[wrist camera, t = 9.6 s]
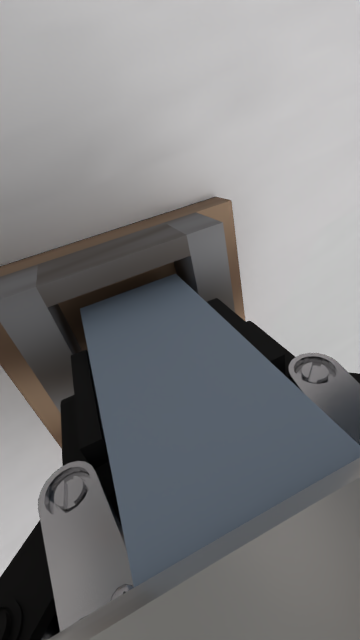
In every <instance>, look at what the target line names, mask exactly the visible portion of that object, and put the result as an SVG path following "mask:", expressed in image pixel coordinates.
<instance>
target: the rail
mask: <svg viewBox="0 0 360 640" xmlns="http://www.w3.org/2000/svg"><path fill="white" fill-rule="evenodd" d="M173 274H177V275H178V276H179V277H180V278H181V279H182V280H183V281H184V282H185V283H186V284H188V285H189V286H190V287H191V288H192V289H193V290H194V291H195V292H196V293H197V294H198V295H199V296H200V297H201V298H203V299H204V300H205V301H206V302H207V301H210V300H212V299H215V298H218V299H219V300H221V301H222V302H223V303H224V304H225V305H226V306H228V307H229V308H230V309H231V310H232V311H234V312H235V313H236V314H237V315H238V316H240V317H241V318H242V319H243V320H244V321H245V315H244V306H243V297H242V289H241V280H240V271H239V263H238V254H237V245H236V237H235V228H234V219H233V211H232V202H231V200H227V199H223V198H219V197H214V198H211V199H208V200H205V201H202V202H198V203H195V204H192V205H189V206H186V207H183V208H180V209H177V210H174V211H171V212H168V213H164V214H161V215H158V216H155V217H152V218H149V219H146V220H143V221H140V222H137V223H134V224H130V225H127V226H124V227H121V228H118V229H115V230H112V231H109V232H106V233H103V234H100V235H97V236H93V237H90V238H87V239H84V240H81V241H78V242H75V243H72V244H69V245H66V246H63V247H59V248H56V249H53V250H50V251H47V252H44V253H41V254H38V255H35V256H32V257H29V258H25V259H22V260H19V261H16V262H13V263H10V264H7V265H4V266H1V267H0V365H1V366H2V368H3V369H4V370H5V372H6V373H7V375H8V376H9V377H10V379H11V380H12V381H13V383H14V384H15V385H16V387H17V388H18V390H19V391H20V392H21V394H22V395H23V396H24V398H25V399H26V401H27V402H28V403H29V405H30V406H31V407H32V409H33V410H34V411H35V413H36V414H37V416H38V417H39V418H40V420H41V421H42V422H43V424H44V425H45V426H46V428H47V429H48V431H49V432H50V433H51V435H52V436H53V437H54V439H55V440H56V442H57V443H58V444H59V446H60V447H61V448H62V434H61V408H60V404H61V400H63V399H65V398H68V397H70V396H72V395H74V387H73V377H72V367H71V355H73V354H76V353H78V352H81V351H83V350H87V351H88V348H87V343H86V338H85V333H84V328H83V322H82V317H81V312H80V308H83V307H86V306H88V305H91V304H94V303H96V302H99V301H102V300H105V299H107V298H110V297H113V296H116V295H118V294H121V293H124V292H126V291H129V290H132V289H135V288H137V287H140V286H143V285H146V284H148V283H151V282H154V281H156V280H159V279H162V278H165V277H167V276H170V275H173Z"/></svg>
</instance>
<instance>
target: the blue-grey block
mask: <svg viewBox="0 0 360 640" xmlns="http://www.w3.org/2000/svg"><path fill="white" fill-rule="evenodd" d="M80 312H81V317H82V322H83V328H84V333H85V338H86V343H87V348H88V353H89V359H90V364H91V369H92V374H93V379H94V384H95V390H96V395H97V400H98V405H99V410H100V415H101V421H102V426H103V431H104V436H105V441H106V446H107V452H108V457H109V462H110V467H111V472H112V477H113V483H114V488H115V493H116V498H117V503H118V508H119V514H120V519H121V524H122V529H123V534H124V539H125V545H126V550H127V555H128V560H129V565H130V570H131V576H132V581H133V586H134V587H136V586H138V585H140V584H141V583H143V582H145V581H146V580H148V579H150V578H152V577H153V576H155V575H157V574H158V573H160V572H162V571H164V570H165V569H167V568H169V567H170V566H172V565H174V564H176V563H177V562H179V561H181V560H182V559H184V558H186V557H188V556H189V555H191V554H193V553H194V552H196V551H198V550H200V549H201V548H203V547H205V546H206V545H208V544H210V543H212V542H213V541H215V540H217V539H219V538H220V537H222V536H224V535H225V534H227V533H229V532H231V531H232V530H234V529H236V528H238V527H239V526H241V525H243V524H244V523H246V522H248V521H250V520H251V519H253V518H255V517H257V516H258V515H260V514H262V513H264V512H265V511H267V510H269V509H270V508H272V507H274V506H276V505H277V504H279V503H281V502H283V501H284V500H286V499H288V498H290V497H291V496H293V495H295V494H297V493H298V492H300V491H302V490H304V489H305V488H307V487H309V486H310V485H312V484H314V483H316V482H317V481H319V480H321V479H323V478H324V477H326V476H328V475H330V474H332V473H333V472H335V471H337V470H339V469H340V468H342V467H344V466H346V465H347V464H349V463H351V462H353V461H354V460H356V459H358V458H360V445H359V444H358V443H357V442H356V441H354V440H353V439H352V438H351V437H350V436H349V435H348V434H347V433H346V432H345V431H344V430H343V429H342V428H341V427H339V426H338V425H337V424H336V423H335V422H334V421H333V420H332V419H331V418H330V417H329V416H328V415H327V414H326V413H325V412H323V411H322V410H321V409H320V408H319V407H318V406H317V405H316V404H315V403H314V402H313V401H312V400H311V399H310V398H308V397H307V396H306V395H305V394H304V393H303V392H302V391H301V390H300V389H299V388H298V387H297V386H296V385H295V384H293V383H292V382H291V381H290V380H289V379H288V378H287V377H286V376H285V375H284V374H283V373H282V372H281V371H280V370H278V369H277V368H276V367H275V366H274V365H273V364H272V363H271V362H270V361H269V360H268V359H267V358H266V357H265V356H264V355H262V354H261V353H260V352H259V351H258V350H257V349H256V348H255V347H254V346H253V345H252V344H251V343H250V342H249V341H247V340H246V339H245V338H244V337H243V336H242V335H241V334H240V333H239V332H238V331H237V330H236V329H235V328H234V327H232V326H231V325H230V324H229V323H228V322H227V321H226V320H225V319H224V318H223V317H222V316H221V315H220V314H219V313H218V312H216V311H215V310H214V309H213V308H212V307H211V306H210V305H209V304H208V303H207V302H206V301H205V300H204V299H203V298H201V297H200V296H199V295H198V294H197V293H196V292H195V291H194V290H193V289H192V288H191V287H190V286H189V285H188V284H186V283H185V282H184V281H183V280H182V279H181V278H180V277H179V276H178V275H177V274H173V275H170V276H167V277H165V278H162V279H159V280H156V281H154V282H151V283H148V284H146V285H143V286H140V287H137V288H135V289H132V290H129V291H126V292H124V293H121V294H118V295H116V296H113V297H110V298H107V299H105V300H102V301H99V302H96V303H94V304H91V305H88V306H86V307H83V308H80Z"/></svg>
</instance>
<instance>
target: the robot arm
mask: <svg viewBox="0 0 360 640" xmlns="http://www.w3.org/2000/svg"><path fill="white" fill-rule="evenodd" d="M207 303H208V304H209V305H210V306H211V307H212V308H213V309H214V310H215V311H216V312H218V313H219V314H220V315H221V316H222V317H223V318H224V319H225V320H226V321H227V322H228V323H229V324H230V325H231V326H232V327H234V328H235V329H236V330H237V331H238V332H239V333H240V334H241V335H242V336H243V337H244V338H245V339H246V340H247V341H249V342H250V343H251V344H252V345H253V346H254V347H255V348H256V349H257V350H258V351H259V352H260V353H261V354H262V355H264V356H265V357H266V358H267V359H268V360H269V361H270V362H271V363H272V364H273V365H274V366H275V367H276V368H277V369H278V370H280V371H281V372H282V373H283V374H284V375H285V376H286V377H287V378H288V379H289V380H290V381H291V382H292V383H293V384H295V385H296V386H297V387H298V388H299V389H300V390H301V391H302V392H303V393H304V394H305V395H306V396H307V397H308V398H310V399H311V400H312V401H313V402H314V403H315V404H316V405H317V406H318V407H319V408H320V409H321V410H322V411H323V412H325V413H326V414H327V415H328V416H329V417H330V418H331V419H332V420H333V421H334V422H335V423H336V424H337V425H338V426H339V427H341V428H342V429H343V430H344V431H345V432H346V433H347V434H348V435H349V436H350V437H351V438H352V439H353V440H354V441H356V442H357V443H358V444H359V445H360V374H357V373H348V372H347V371H346V370H345V369H344V368H343V367H342V366H341V365H340V364H339V363H338V362H337V361H336V360H334V359H333V358H331V357H329V356H327V355H323V354H319V353H306V354H301V355H299V356H297V357H295V356H293V355H292V354H291V353H290V352H289V351H287V350H286V349H285V348H284V347H282V346H281V345H280V344H279V343H278V342H276V341H275V340H274V339H273V338H271V337H270V336H269V335H268V334H266V333H265V332H264V331H263V330H262V329H260V328H259V327H258V326H257V325H255V324H254V323H253V322H251V321H247V322H246V321H244V320H243V319H242V318H241V317H240V316H238V315H237V314H236V313H235V312H234V311H232V310H231V309H230V308H229V307H228V306H226V305H225V304H224V303H223V302H222V301H221V300H219V299H218V298H215V299H212V300H210V301H207ZM71 367H72V377H73V387H74V395H72V396H70V397H68V398H65V399H63V400H61V404H60V408H61V434H62V460H63V466H62V467H61V468H59V469H58V470H57V471H55V472H54V473H53V474H52V475H51V476H50V478H49V479H48V480H47V481H46V483H45V484H44V486H43V488H42V490H41V492H40V495H39V499H38V511H39V517H40V521H39V522H38V524H37V525H36V526H35V528H34V529H33V531H32V532H31V534H30V535H29V537H28V538H27V539H26V541H25V542H24V544H23V545H22V547H21V548H20V550H19V551H18V553H17V554H16V555H15V557H14V558H13V560H12V561H11V563H10V564H9V566H8V567H7V568H6V570H5V571H4V573H3V574H2V576H1V577H0V640H360V458H358V459H356V460H354V461H353V462H351V463H349V464H347V465H346V466H344V467H342V468H340V469H339V470H337V471H335V472H333V473H332V474H330V475H328V476H326V477H324V478H323V479H321V480H319V481H317V482H316V483H314V484H312V485H310V486H309V487H307V488H305V489H304V490H302V491H300V492H298V493H297V494H295V495H293V496H291V497H290V498H288V499H286V500H284V501H283V502H281V503H279V504H277V505H276V506H274V507H272V508H270V509H269V510H267V511H265V512H264V513H262V514H260V515H258V516H257V517H255V518H253V519H251V520H250V521H248V522H246V523H244V524H243V525H241V526H239V527H238V528H236V529H234V530H232V531H231V532H229V533H227V534H225V535H224V536H222V537H220V538H219V539H217V540H215V541H213V542H212V543H210V544H208V545H206V546H205V547H203V548H201V549H200V550H198V551H196V552H194V553H193V554H191V555H189V556H188V557H186V558H184V559H182V560H181V561H179V562H177V563H176V564H174V565H172V566H170V567H169V568H167V569H165V570H164V571H162V572H160V573H158V574H157V575H155V576H153V577H152V578H150V579H148V580H146V581H145V582H143V583H141V584H140V585H138V586H136V587H134V586H133V581H132V576H131V570H130V565H129V560H128V555H127V550H126V545H125V539H124V534H123V529H122V524H121V519H120V514H119V508H118V503H117V498H116V493H115V488H114V483H113V477H112V472H111V467H110V462H109V457H108V452H107V446H106V441H105V436H104V431H103V426H102V421H101V415H100V410H99V405H98V400H97V395H96V390H95V384H94V379H93V374H92V369H91V364H90V359H89V353H88V351H87V350H83V351H81V352H78V353H76V354H73V355H71Z"/></svg>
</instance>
